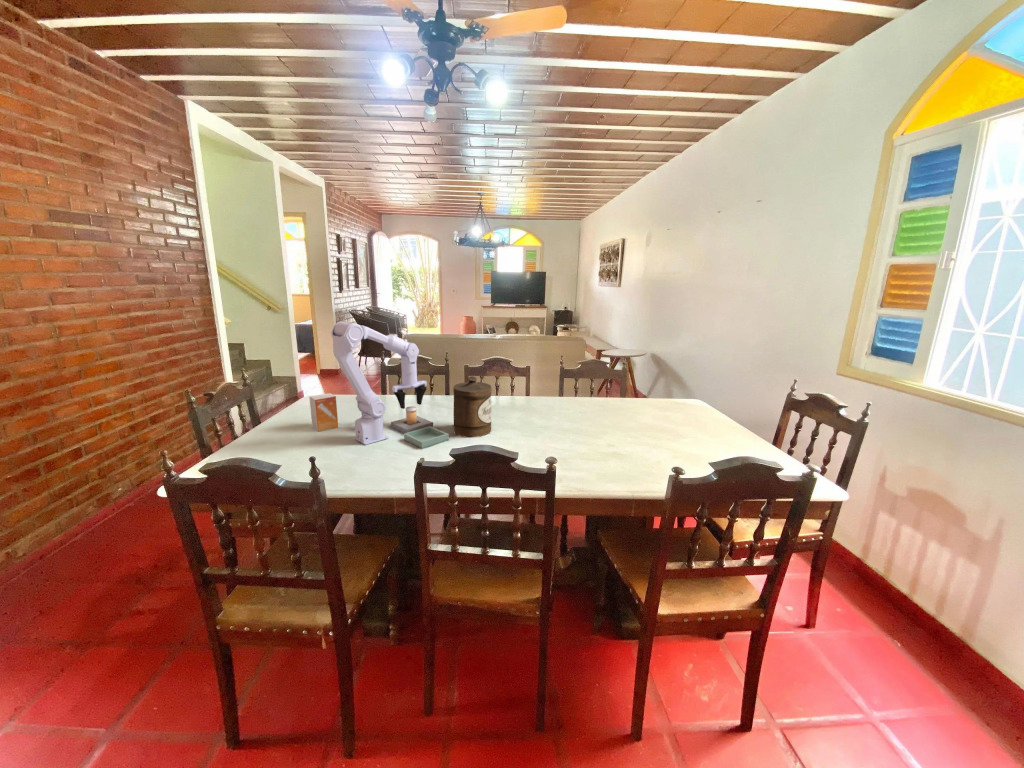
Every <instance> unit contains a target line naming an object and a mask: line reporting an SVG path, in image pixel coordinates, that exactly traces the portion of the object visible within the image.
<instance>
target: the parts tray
mask: <svg viewBox="0 0 1024 768" xmlns="http://www.w3.org/2000/svg"><path fill="white" fill-rule="evenodd" d="M449 436H450V435H449V433H447V432H445V431H442V430H440V429H437V428H435V427H434V426H433V427H431V426H429V427H426V428H422V429H419V430H415V431H412V432H408V433H403V437H404V438H403V440H404V441H406V442H407V443H409V444H411V445H414V446H415V447H417V448H420V449H421V450H424V449H428V448H430V447H432V446H433V447H434V446H436V445H439V444H442V443H445V442H449V440H450V439H449V438H450V437H449Z"/></svg>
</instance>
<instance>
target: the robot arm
mask: <svg viewBox="0 0 1024 768" xmlns="http://www.w3.org/2000/svg"><path fill="white" fill-rule="evenodd" d="M330 334H331V335H330V336H331V338H332V347H333V348H332V350H333V351H332V352H333V356H334V357H335V360H336V361H337V362H338V365H339V366H340V368H341V370H342V372H343V374H344V375H345V376H346V377H345V378H346V379H347V380H348V382H349V383H350V386H351V387H352V389H353V391H354V393H355V394H356V397H355V400H356V403H357V408H358V410H359V411H360V412H361V417H359V418H356V419H355V422H354V430H355V438H354V439H355V440H356V441H358V442H359V443H360V444H363V445H365V446H366V445H369V444H373V443H377V442H379V441H383V440H387V439H389V436H388V435H385V431H384V420H383V419H384V414H385V413H386V409H387V406H386V403H385V402H384V401H383V400H381V398H380V396H378V395H377V394H376V393H375V392H374V391H373V389H372V387H371V385H370V384H369V382H368V381H367V378H366V376H365V375H364V373H363V371H362V369H361V367H360V366H359V364H358V362H357V360H356V358H355V356H354V355H353V352H354V350H355V348H356V347H357V346H358V345H359V343H360V342H361V341H362V340H366V339H368V340H370V341H371V340H372V341H374V342H377V343H379V344H382V347H383V348H384V349H385V350H387V351H391V352H393V353H395V354H397V355H399V357H400V364H401V366H400V367H401V382H402V383H400V384H397V385H393V386H391V388H392V390H391V392H393V394H394V395H395V397H396V399H397V400H398V404H399V407H400V408H401V409H402V410H404V409H405V410H406V401H405V399H406V394H407V393H406V392H404V391H406V390H410V389H414V390H415V391H414V392H415V395H416V404H417V405H419V406H421V405H422V403H423V400H424V399H423V397H424V396H425V393H426V391H427V386H428V381H427V380H418V370H417V369H418V368H417V361H418V355H419V354H420V353H419V352H420V349H419V348H418V345H417V344H416V343H414V342H409V341H408V339H406V338H401V337H398V334H396V333H392V334H388V335H385V334H383V333H381V332H379V331H376V330H375V329H372V328H370V327H368V326H365V325H361V324H358V323H355V322H354V323H350V322H345V321H338V322H336V323H335V324H334V325H333V328H332V330H331V332H330Z"/></svg>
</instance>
